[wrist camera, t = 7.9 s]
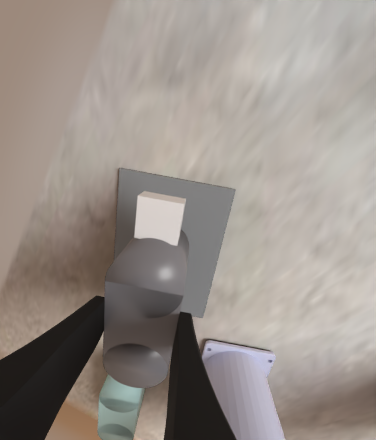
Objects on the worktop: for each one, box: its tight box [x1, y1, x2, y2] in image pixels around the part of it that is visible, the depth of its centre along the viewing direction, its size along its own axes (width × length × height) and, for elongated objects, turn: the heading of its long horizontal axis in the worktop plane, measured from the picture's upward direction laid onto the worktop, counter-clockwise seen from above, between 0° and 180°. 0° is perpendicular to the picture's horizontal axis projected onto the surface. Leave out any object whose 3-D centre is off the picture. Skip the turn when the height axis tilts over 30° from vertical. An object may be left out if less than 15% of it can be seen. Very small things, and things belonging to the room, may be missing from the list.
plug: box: [103, 191, 189, 388], centre depth 12 cm, size 12×4×4 cm, turn 170°
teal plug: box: [98, 374, 145, 440], centre depth 22 cm, size 12×4×4 cm, turn 170°
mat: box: [114, 168, 235, 318], centre depth 18 cm, size 14×10×1 cm
